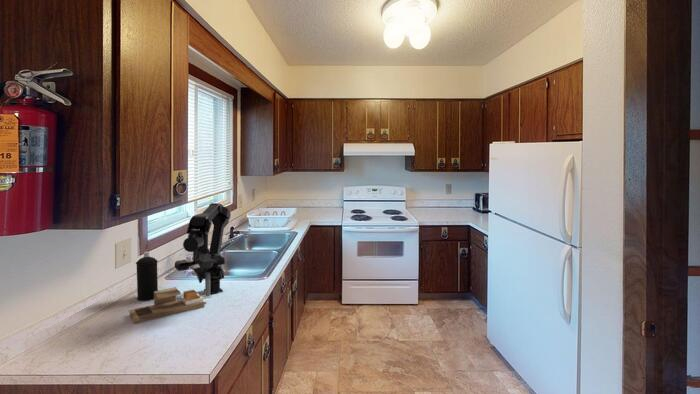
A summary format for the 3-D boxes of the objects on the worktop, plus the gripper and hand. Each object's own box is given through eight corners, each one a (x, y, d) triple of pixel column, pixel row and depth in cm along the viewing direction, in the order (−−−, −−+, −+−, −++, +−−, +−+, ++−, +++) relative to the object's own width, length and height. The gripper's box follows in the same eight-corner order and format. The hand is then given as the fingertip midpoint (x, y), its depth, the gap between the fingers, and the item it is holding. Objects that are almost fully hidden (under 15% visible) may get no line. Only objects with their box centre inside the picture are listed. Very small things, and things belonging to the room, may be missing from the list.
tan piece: (129, 314, 139) (128, 295, 138) (196, 299, 155) (196, 282, 155) (134, 323, 132) (133, 303, 131) (204, 307, 148) (204, 289, 147)
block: (183, 300, 149) (183, 291, 148) (193, 298, 152) (193, 289, 151) (186, 304, 146) (186, 294, 146) (196, 301, 149) (196, 292, 148)
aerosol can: (157, 299, 154) (156, 254, 152) (135, 302, 151) (133, 255, 149) (159, 293, 162) (158, 249, 160) (138, 295, 159) (137, 250, 157)
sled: (181, 300, 149) (180, 275, 148) (207, 294, 157) (207, 270, 155) (186, 305, 145) (185, 280, 143) (213, 299, 152) (212, 274, 151)
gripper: (182, 253, 137) (182, 293, 139) (230, 247, 149) (229, 284, 151) (174, 247, 145) (174, 284, 147) (220, 242, 158) (219, 276, 159)
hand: (200, 282), depth 151 cm, fingers closed
